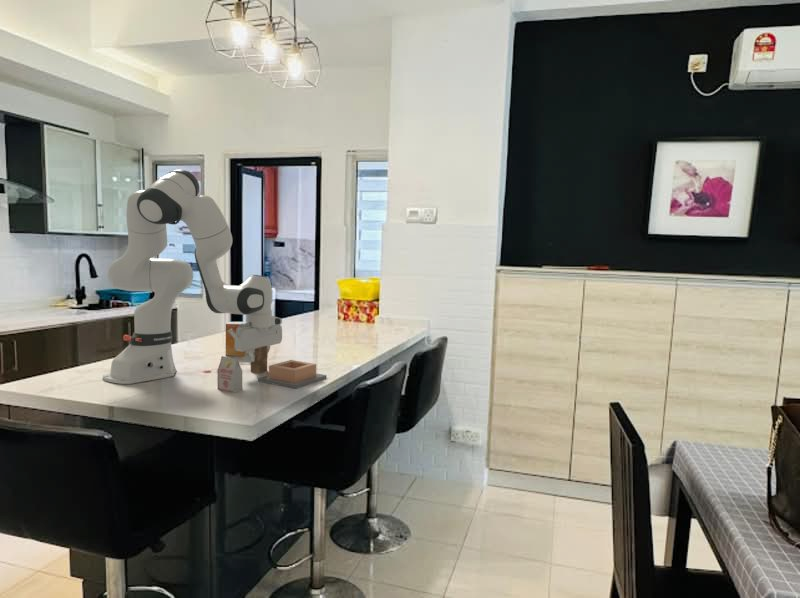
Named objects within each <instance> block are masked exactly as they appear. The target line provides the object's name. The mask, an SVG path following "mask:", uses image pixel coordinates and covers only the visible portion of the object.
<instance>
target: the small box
mask: <svg viewBox="0 0 800 598" xmlns="http://www.w3.org/2000/svg"><path fill="white" fill-rule="evenodd" d="M245 323H246V321H228V322H226V324H225V357H229V356H231V357H234V356H235V357H237V356H238V357H241V356H244V357H246V356H248V355H249V354H248V352H247V351H243V352H242V351H236V349H235V348H234V344H235V335H236V329H237V327H238V326H239V325H240V324H245ZM244 327H245V326H244Z"/></svg>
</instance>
